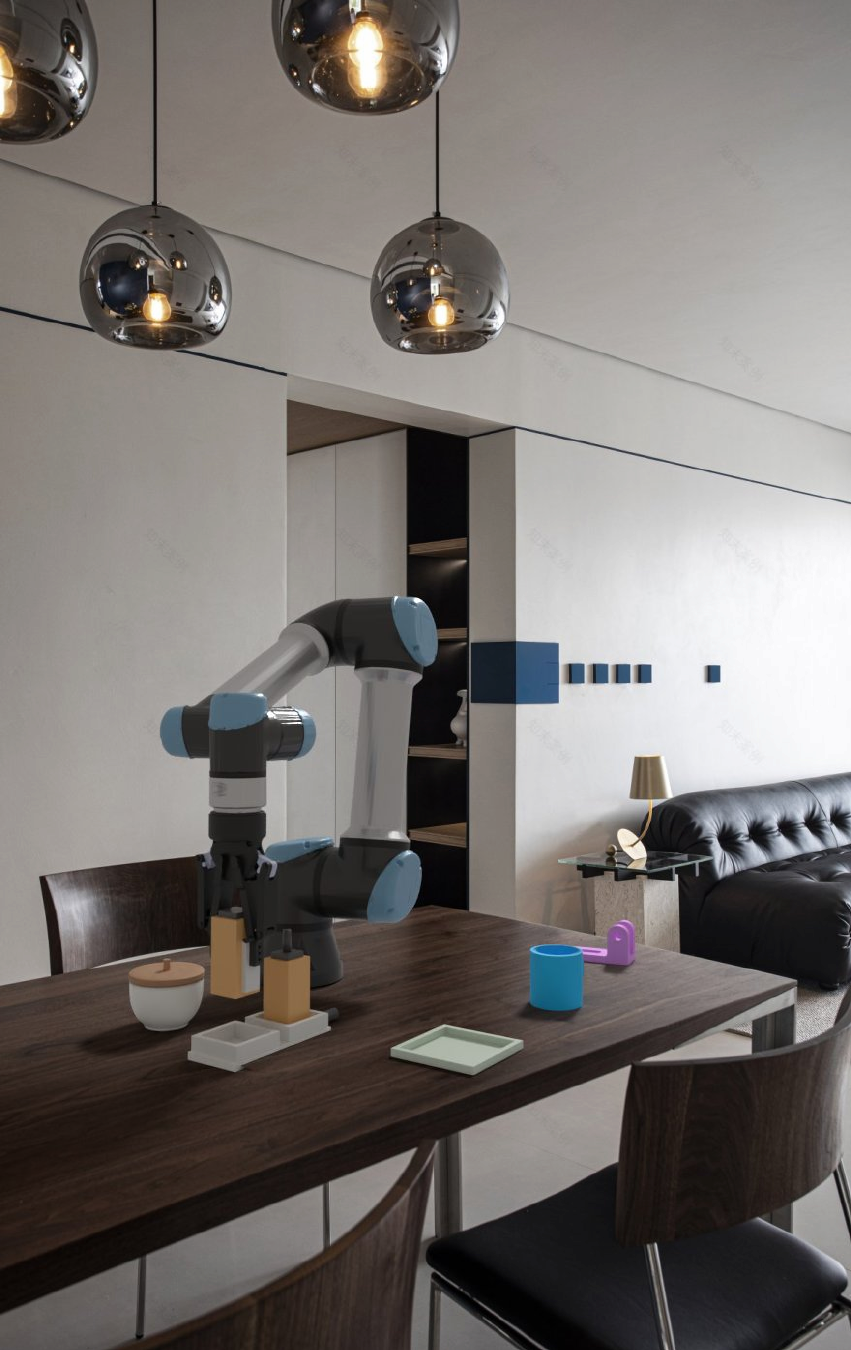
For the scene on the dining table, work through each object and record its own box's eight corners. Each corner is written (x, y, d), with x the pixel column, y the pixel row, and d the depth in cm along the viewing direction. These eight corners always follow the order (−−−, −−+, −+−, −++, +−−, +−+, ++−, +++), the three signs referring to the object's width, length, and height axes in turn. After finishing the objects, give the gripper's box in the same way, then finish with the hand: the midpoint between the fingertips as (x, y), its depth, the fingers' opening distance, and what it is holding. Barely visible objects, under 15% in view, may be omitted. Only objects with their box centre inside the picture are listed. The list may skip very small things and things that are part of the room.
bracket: (635, 959, 199) (635, 920, 199) (627, 966, 194) (627, 926, 194) (565, 952, 204) (565, 914, 204) (556, 959, 199) (556, 920, 199)
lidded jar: (137, 1040, 151) (138, 971, 151) (120, 1020, 160) (121, 955, 161) (213, 1029, 156) (214, 963, 156) (193, 1010, 165) (193, 947, 165)
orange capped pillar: (210, 993, 144) (211, 910, 144) (234, 986, 147) (235, 905, 148) (235, 999, 141) (236, 914, 141) (259, 991, 145) (260, 909, 145)
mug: (565, 1014, 164) (565, 959, 164) (519, 1004, 169) (519, 951, 169) (605, 997, 174) (605, 945, 174) (560, 988, 179) (560, 937, 179)
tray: (390, 1060, 143) (390, 1048, 143) (444, 1035, 153) (444, 1024, 153) (473, 1079, 136) (473, 1066, 136) (523, 1052, 146) (523, 1040, 146)
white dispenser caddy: (234, 1072, 138) (235, 953, 138) (187, 1059, 143) (188, 945, 143) (357, 1023, 159) (357, 920, 159) (312, 1013, 164) (312, 914, 164)
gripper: (169, 807, 147) (167, 983, 146) (267, 815, 137) (266, 1004, 136) (210, 803, 153) (208, 972, 152) (307, 811, 143) (305, 991, 142)
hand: (235, 987), depth 144 cm, fingers closed on orange capped pillar, 4 cm apart
